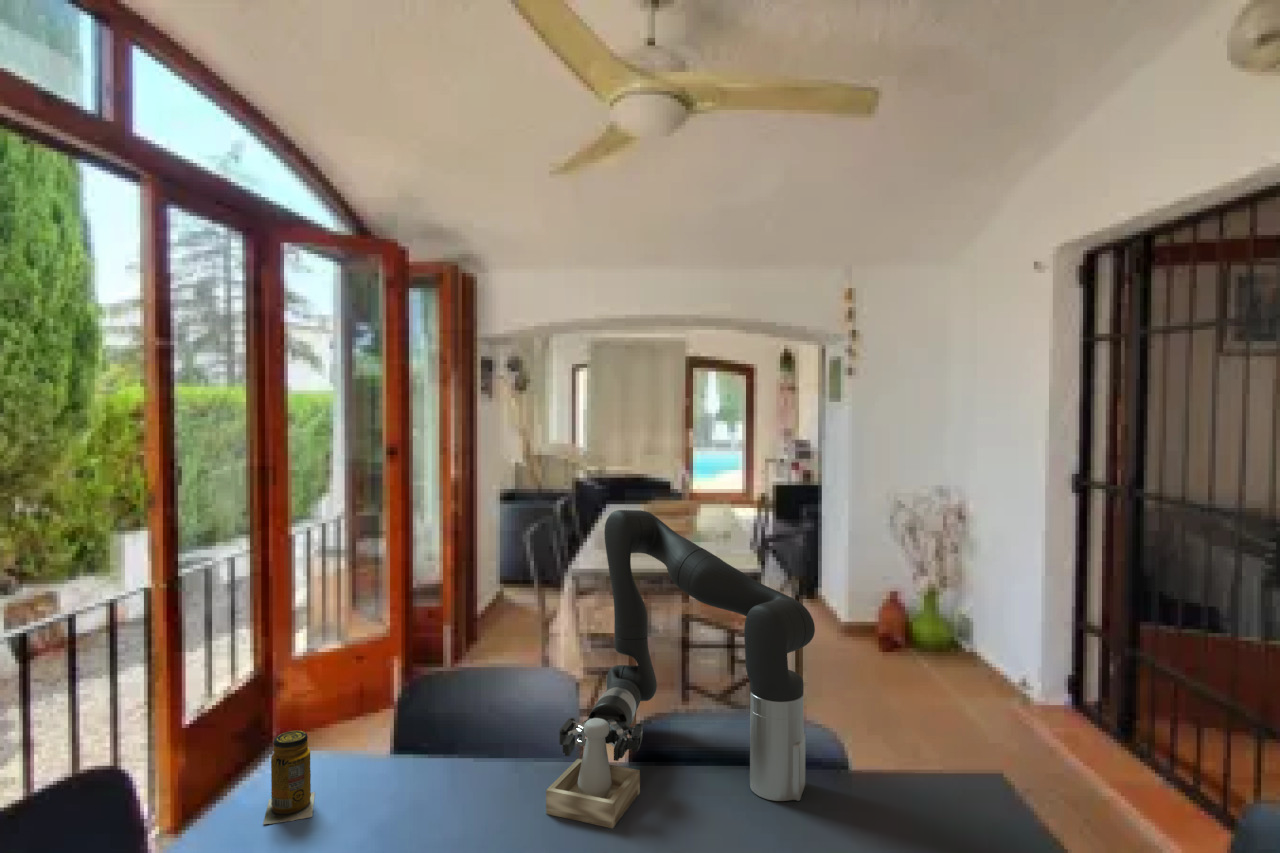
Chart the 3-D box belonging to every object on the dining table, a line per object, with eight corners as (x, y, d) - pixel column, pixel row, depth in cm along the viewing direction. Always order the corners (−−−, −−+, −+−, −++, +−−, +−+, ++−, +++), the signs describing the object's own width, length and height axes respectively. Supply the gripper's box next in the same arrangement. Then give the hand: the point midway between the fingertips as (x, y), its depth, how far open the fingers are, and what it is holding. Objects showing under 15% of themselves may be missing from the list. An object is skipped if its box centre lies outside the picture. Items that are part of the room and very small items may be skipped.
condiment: (315, 793, 133) (314, 725, 132) (312, 817, 125) (311, 745, 124) (268, 800, 130) (267, 731, 130) (262, 826, 122) (261, 752, 122)
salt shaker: (606, 807, 126) (609, 730, 125) (573, 802, 127) (575, 726, 127) (614, 790, 132) (617, 716, 131) (582, 785, 133) (585, 712, 132)
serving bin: (639, 792, 133) (639, 770, 133) (612, 828, 121) (612, 803, 121) (577, 780, 137) (577, 758, 137) (546, 813, 126) (546, 790, 126)
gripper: (576, 691, 144) (550, 727, 128) (650, 697, 141) (632, 734, 126) (576, 730, 144) (550, 771, 129) (650, 737, 142) (632, 779, 126)
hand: (591, 753), depth 127 cm, fingers open, 8 cm apart
